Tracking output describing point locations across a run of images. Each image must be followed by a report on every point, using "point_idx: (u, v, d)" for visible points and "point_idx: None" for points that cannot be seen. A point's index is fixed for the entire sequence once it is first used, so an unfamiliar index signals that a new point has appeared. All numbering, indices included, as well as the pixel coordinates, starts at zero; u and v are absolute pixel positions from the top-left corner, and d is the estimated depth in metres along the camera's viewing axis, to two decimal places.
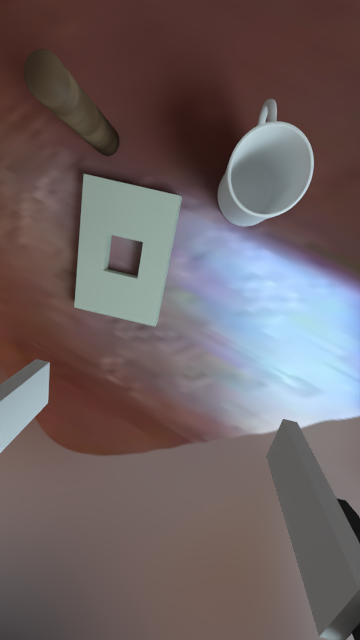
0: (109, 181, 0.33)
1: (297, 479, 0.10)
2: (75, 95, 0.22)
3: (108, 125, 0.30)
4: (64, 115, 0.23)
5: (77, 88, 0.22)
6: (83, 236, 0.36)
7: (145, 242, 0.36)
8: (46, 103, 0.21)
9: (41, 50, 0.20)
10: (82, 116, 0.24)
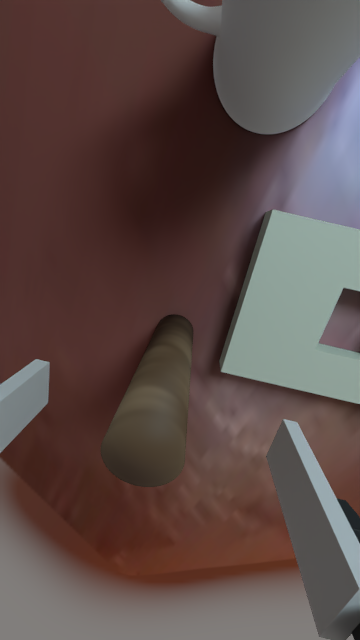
0: (235, 336, 0.21)
1: (297, 479, 0.10)
2: (160, 396, 0.11)
3: (166, 329, 0.19)
4: (187, 417, 0.12)
5: (147, 387, 0.12)
6: (311, 387, 0.22)
7: (345, 283, 0.19)
8: None
9: (103, 450, 0.10)
10: (179, 380, 0.13)
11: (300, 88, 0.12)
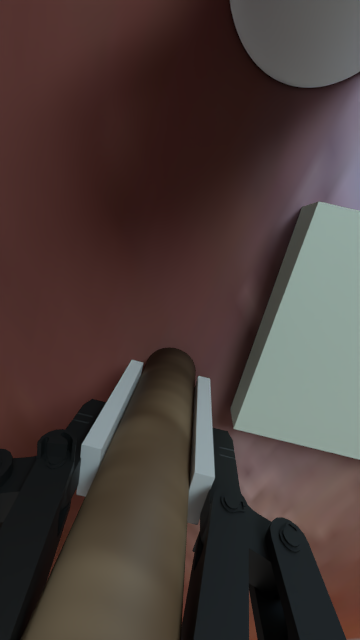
0: (254, 382, 0.15)
1: (193, 417, 0.12)
2: (122, 597, 0.05)
3: (156, 378, 0.13)
4: None
5: (98, 559, 0.06)
6: None
7: None
8: None
9: None
10: (169, 509, 0.07)
11: None
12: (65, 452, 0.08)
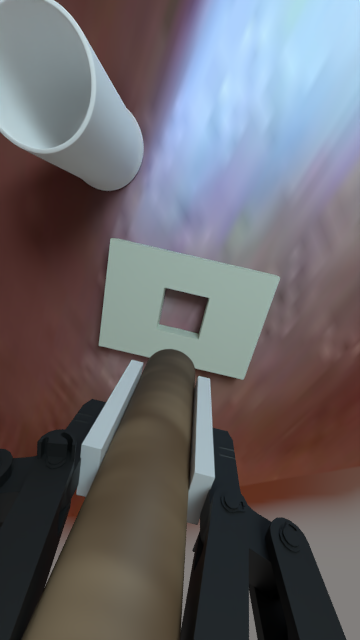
0: (103, 320, 0.31)
1: (193, 417, 0.12)
2: (121, 603, 0.05)
3: (155, 380, 0.13)
4: (181, 613, 0.06)
5: (97, 564, 0.06)
6: None
7: (164, 284, 0.29)
8: None
9: None
10: (168, 513, 0.07)
11: (90, 177, 0.23)
12: (65, 452, 0.08)
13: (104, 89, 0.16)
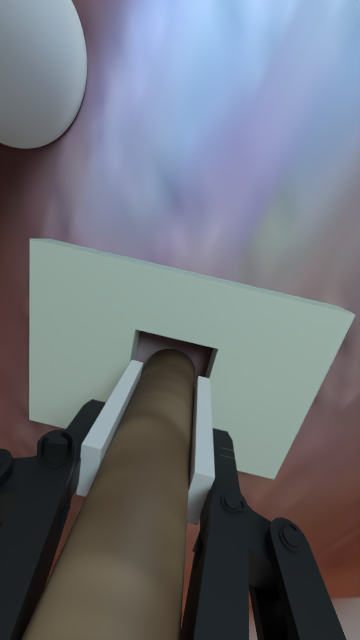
0: (32, 381, 0.18)
1: (193, 417, 0.12)
2: (121, 601, 0.05)
3: (155, 380, 0.13)
4: (181, 612, 0.06)
5: (97, 562, 0.06)
6: None
7: (135, 324, 0.15)
8: None
9: None
10: (168, 512, 0.07)
11: None
12: (65, 452, 0.08)
13: None
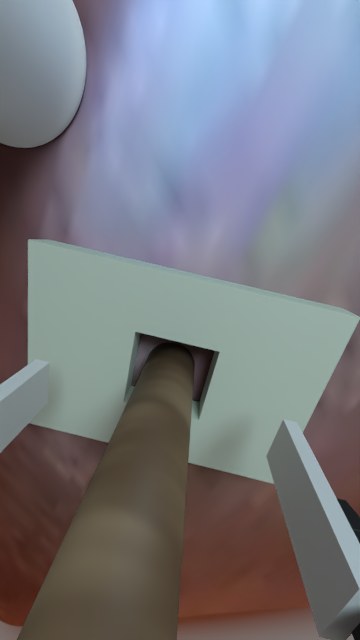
0: None
1: (296, 479, 0.10)
2: (130, 543, 0.06)
3: (157, 369, 0.14)
4: (181, 560, 0.07)
5: (109, 514, 0.07)
6: None
7: (135, 326, 0.15)
8: None
9: None
10: (170, 479, 0.08)
11: None
12: None
13: None
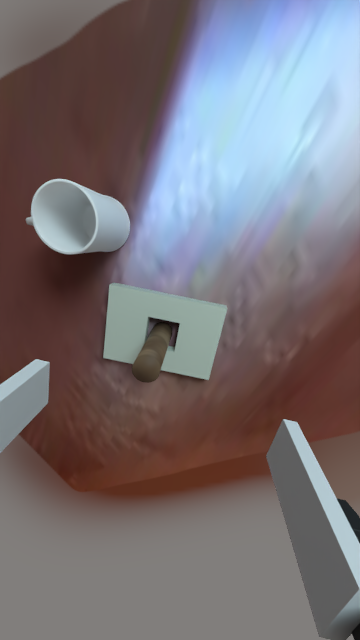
0: (106, 339, 0.43)
1: (297, 479, 0.10)
2: (151, 352, 0.32)
3: (156, 329, 0.39)
4: (162, 360, 0.32)
5: (147, 349, 0.32)
6: None
7: (148, 314, 0.41)
8: (159, 371, 0.31)
9: (132, 369, 0.31)
10: (160, 348, 0.34)
11: None
12: None
13: (102, 218, 0.28)
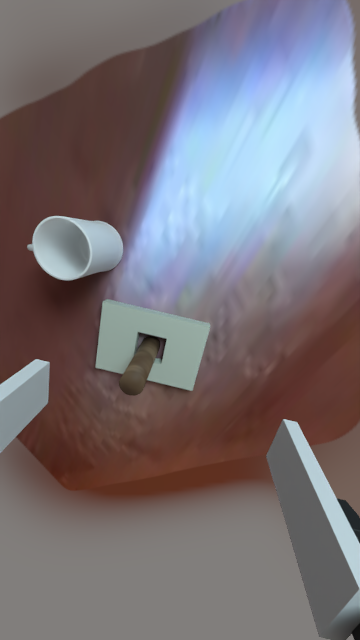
0: (98, 351, 0.46)
1: (297, 479, 0.10)
2: (137, 368, 0.35)
3: (145, 344, 0.43)
4: (147, 375, 0.36)
5: (133, 365, 0.36)
6: None
7: (137, 330, 0.44)
8: (143, 386, 0.34)
9: (119, 383, 0.34)
10: (145, 363, 0.37)
11: None
12: None
13: (96, 249, 0.32)
